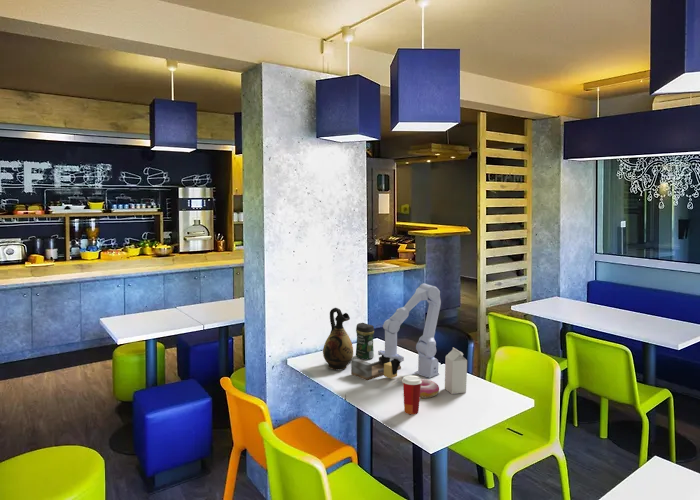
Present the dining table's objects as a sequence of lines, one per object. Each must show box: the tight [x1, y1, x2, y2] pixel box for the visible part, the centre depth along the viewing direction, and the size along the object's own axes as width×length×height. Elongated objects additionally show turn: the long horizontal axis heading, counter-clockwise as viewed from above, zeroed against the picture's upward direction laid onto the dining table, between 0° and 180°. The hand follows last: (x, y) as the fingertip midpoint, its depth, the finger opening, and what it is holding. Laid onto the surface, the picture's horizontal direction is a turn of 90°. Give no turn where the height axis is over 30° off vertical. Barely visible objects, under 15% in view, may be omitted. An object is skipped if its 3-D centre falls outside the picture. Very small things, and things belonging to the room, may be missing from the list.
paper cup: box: [401, 374, 422, 416], centre depth 206 cm, size 8×8×14 cm
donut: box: [420, 378, 440, 399], centre depth 227 cm, size 14×13×5 cm
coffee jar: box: [355, 322, 375, 360], centre depth 276 cm, size 10×8×19 cm
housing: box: [383, 362, 398, 379], centre depth 244 cm, size 4×4×6 cm
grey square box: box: [378, 355, 394, 365], centre depth 259 cm, size 7×6×4 cm
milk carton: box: [444, 347, 468, 395], centre depth 229 cm, size 7×7×19 cm
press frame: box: [350, 358, 402, 381], centre depth 253 cm, size 11×24×8 cm, turn 134°
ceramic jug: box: [322, 307, 354, 371], centre depth 260 cm, size 17×15×30 cm
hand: (390, 372), depth 244 cm, fingers closed on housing, 4 cm apart
